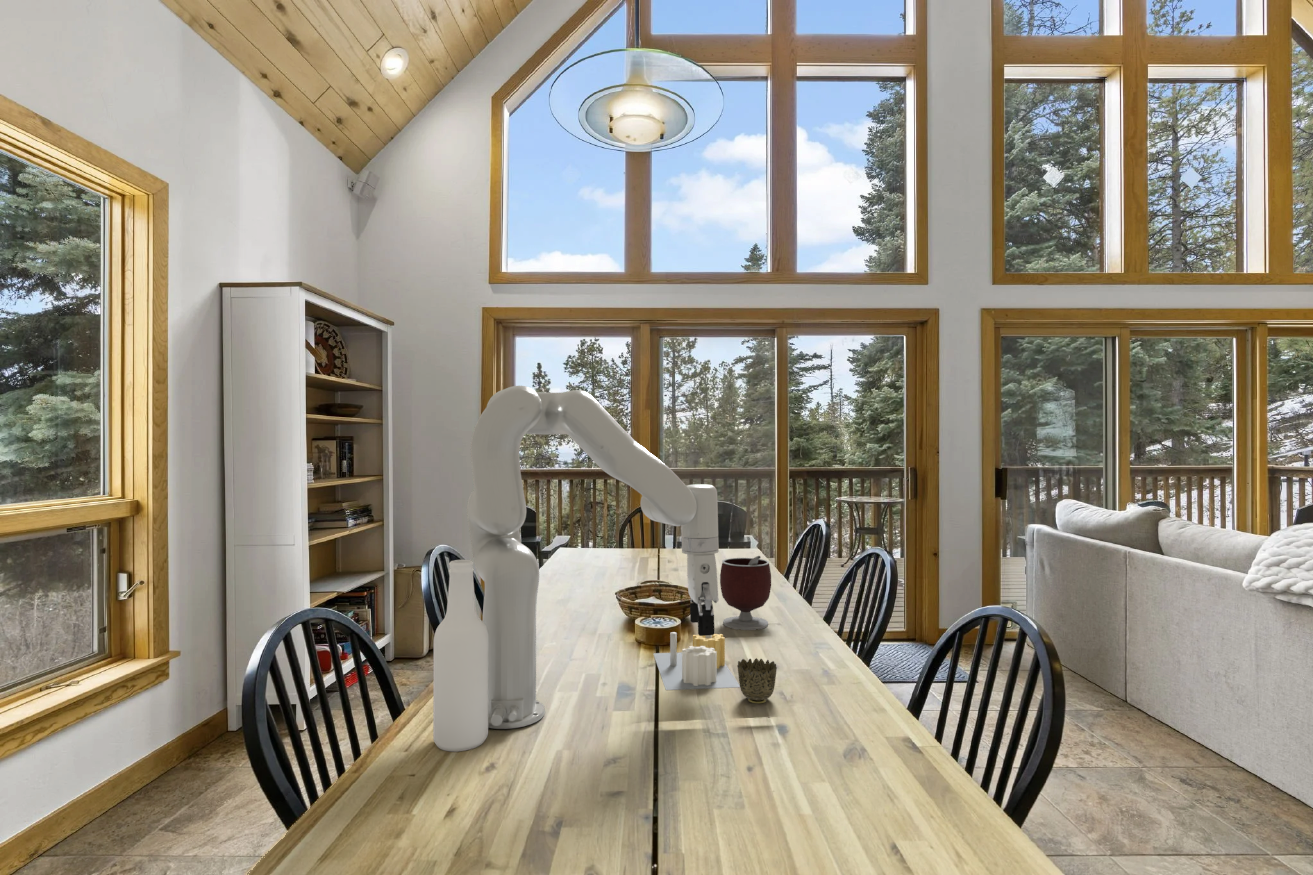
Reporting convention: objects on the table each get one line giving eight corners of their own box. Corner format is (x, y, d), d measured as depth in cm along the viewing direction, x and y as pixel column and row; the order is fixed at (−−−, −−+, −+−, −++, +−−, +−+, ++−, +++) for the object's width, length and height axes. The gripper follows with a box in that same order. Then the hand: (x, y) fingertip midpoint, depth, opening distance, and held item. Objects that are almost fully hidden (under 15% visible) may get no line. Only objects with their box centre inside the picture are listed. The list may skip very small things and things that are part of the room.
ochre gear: (727, 668, 151) (727, 640, 151) (695, 669, 151) (695, 641, 151) (720, 658, 158) (720, 631, 158) (690, 659, 157) (690, 632, 157)
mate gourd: (712, 619, 197) (712, 548, 197) (757, 616, 201) (757, 546, 202) (734, 634, 182) (734, 557, 183) (783, 630, 187) (783, 554, 187)
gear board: (740, 693, 140) (740, 651, 140) (665, 696, 138) (665, 654, 138) (717, 656, 164) (717, 621, 164) (653, 658, 162) (653, 622, 162)
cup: (776, 715, 129) (776, 671, 129) (735, 711, 130) (735, 668, 130) (777, 700, 136) (777, 658, 136) (739, 697, 137) (739, 656, 137)
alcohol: (431, 734, 120) (432, 558, 120) (484, 727, 123) (485, 555, 123) (434, 756, 112) (435, 567, 112) (491, 747, 115) (491, 563, 115)
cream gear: (719, 685, 141) (718, 655, 141) (685, 686, 140) (685, 656, 140) (712, 673, 148) (712, 645, 148) (680, 674, 147) (680, 646, 147)
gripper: (726, 551, 136) (728, 639, 136) (710, 538, 153) (712, 616, 153) (688, 552, 135) (690, 641, 135) (676, 539, 152) (678, 618, 152)
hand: (702, 628), depth 144 cm, fingers open, 9 cm apart
